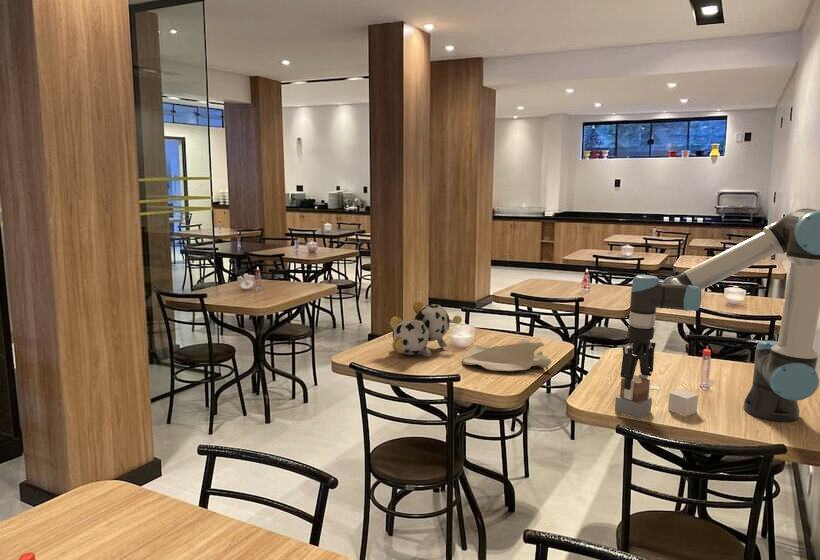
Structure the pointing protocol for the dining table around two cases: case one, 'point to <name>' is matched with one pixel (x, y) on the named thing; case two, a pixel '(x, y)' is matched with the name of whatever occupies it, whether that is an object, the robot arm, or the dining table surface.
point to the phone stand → (654, 387)
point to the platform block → (633, 407)
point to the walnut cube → (637, 388)
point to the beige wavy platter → (507, 356)
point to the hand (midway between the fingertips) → (634, 396)
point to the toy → (421, 329)
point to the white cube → (683, 402)
